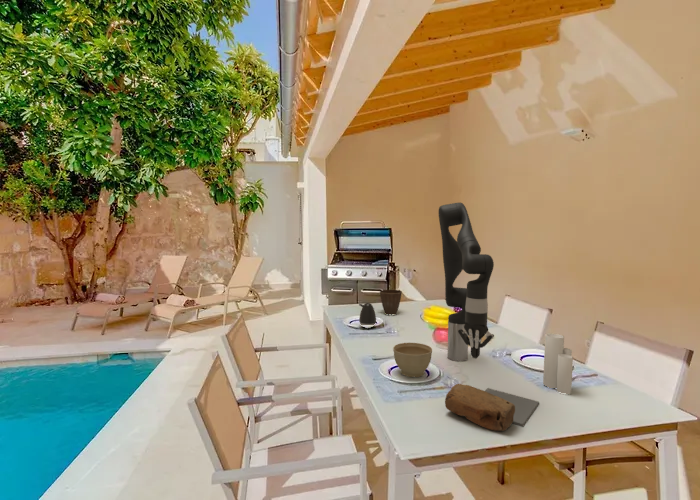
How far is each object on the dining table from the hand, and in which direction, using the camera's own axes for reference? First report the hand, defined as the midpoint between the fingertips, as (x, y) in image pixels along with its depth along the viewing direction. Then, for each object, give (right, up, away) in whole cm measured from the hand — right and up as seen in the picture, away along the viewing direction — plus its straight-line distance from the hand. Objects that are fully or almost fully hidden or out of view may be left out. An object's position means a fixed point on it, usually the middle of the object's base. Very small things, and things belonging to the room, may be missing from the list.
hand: (475, 357), depth 141 cm
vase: (+35, -15, +10) cm, 40 cm away
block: (-10, -11, -7) cm, 17 cm away
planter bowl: (-19, -14, +24) cm, 33 cm away
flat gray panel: (+8, -16, -6) cm, 18 cm away
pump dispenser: (-34, -8, +95) cm, 101 cm away
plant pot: (-17, -6, +129) cm, 131 cm away
